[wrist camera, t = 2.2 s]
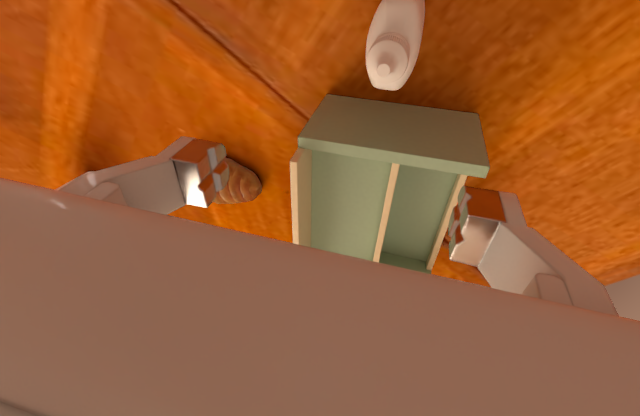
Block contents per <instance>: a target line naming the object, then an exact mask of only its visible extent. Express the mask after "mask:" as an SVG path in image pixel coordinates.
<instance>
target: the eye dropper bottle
mask: <svg viewBox="0 0 640 416" xmlns="http://www.w3.org/2000/svg"><path fill="white" fill-rule="evenodd" d="M424 18H425V0H382V1H381V3H380V5H379V7H378V9H377V10H376V13H375V15H374V17H373V20H372V23H371V26H370V29H369V33H368V37H367V43H366V66H367V67H366V68H367V72H368V76H369V79H370V81H371V84H372V85H373V86H374V87H375V88H378V89H383V90H393V91H394V90H399V89H400V88H401V87H402V86H403V85H404V84H405V83H406V81H407V80H408V78H409V76H410V74H411V73H412V71H413V68H414V66H415V63H416V61H417V57H418V54H419V50H420V44H421V38H422V32H423V26H424Z"/></svg>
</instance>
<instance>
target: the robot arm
mask: <svg viewBox="0 0 640 416" xmlns="http://www.w3.org/2000/svg"><path fill="white" fill-rule="evenodd" d="M226 155H227V154H226V149H225V146H224V145H223V144H222V143H217V142H212V141H207V140H202V139H196V138H192V137H180V138H179V139H178V140H176V141H175V142H174V143H172V144H171V145H170V146H168V147H167V148H166V149H164V150H163V151H162V152H160V153H159V154H158V155H157V156H155V157H154V156H149V157H146V158H142V159H138V160H135V161H131V162H127V163H124V164H120V165H116V166H113V167H109V168H106V169H102V170H98V171H95V172H91V173H87V174H84V175H81V176H79V177H78V178H76V179H75V180H73V181H72V182H70V183H69V184H67V185H66V186H64V187H63V188H61V189H60V190H58V191H57V190H53V189H48V188H44V187H39V186H35V185H31V184H26V183H22V182H17V181H13V180H8V179H4V178H0V416H640V321H637V320H633V319H628V318H624V317H619V315H618V313H617V311H616V309H615V307H614V305H613V303H612V301H611V299H610V297H609V295H608V293H607V290H606V288H605V286H604V285H603V284H601V283H600V282H599V281H598V280H596V279H595V278H594V277H593V276H592V275H590V274H589V273H588V272H587V271H585V270H584V269H583V268H582V267H580V266H579V265H578V264H577V263H575V262H574V261H573V260H572V259H570V258H569V257H568V256H567V255H565V254H564V253H563V252H562V251H560V250H559V249H558V248H557V247H555V246H554V245H553V244H552V243H551V242H549V241H548V240H547V239H546V238H544V237H543V236H542V235H541V234H539V233H538V232H537V231H536V230H534V229H533V228H529V227H527V224H526V221H525V218H524V215H523V212H522V209H521V206H520V203H519V200H518V197H517V195H516V194H515V193H509V192H502V191H494V190H488V189H481V188H474V187H468V186H462V188H461V189H460V192H459V194H458V205H456V206H455V207H453V210H452V213H451V216H450V220H449V226H448V235H449V236H450V238H451V241H450V243H449V258H450V260H452V261H456V262H460V263H464V264H468V265H472V266H477V267H478V269H479V270H480V272H481V273H482V275H483V276H484V277H485V279H486V280H487V281H488V283H489V284H490V286H491V287H492V288H490V287H486V286H481V285H477V284H473V283H468V282H464V281H459V280H455V279H450V278H446V277H441V276H437V275H432V274H428V273H423V272H419V271H414V270H410V269H406V268H401V267H397V266H392V265H388V264H383V263H379V262H374V261H370V260H365V259H361V258H356V257H352V256H347V255H343V254H339V253H334V252H330V251H325V250H321V249H316V248H312V247H307V246H303V245H298V244H294V243H289V242H285V241H280V240H276V239H272V238H267V237H263V236H258V235H254V234H249V233H245V232H240V231H236V230H231V229H227V228H223V227H218V226H214V225H209V224H205V223H200V222H196V221H191V220H187V219H182V218H178V217H173V216H169V215H167V214H169V213H171V212H173V211H175V210H177V209H179V208H181V207H183V206H184V205H185V204H188V205H193V206H199V207H204V208H207V207H208V206H209V205H210V204H211V203H212V202H213V200H214V199H215V198H216V192H218V191H221V190H223V189H224V187H225V186H226V185H227V182H228V179H229V166H228V164H227V163H226V162H225V161H224V158H225V157H226Z"/></svg>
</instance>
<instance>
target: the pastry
mask: <svg viewBox="0 0 640 416" xmlns="http://www.w3.org/2000/svg"><path fill="white" fill-rule="evenodd" d="M224 161H225V162H226V163H227V164H228V166H229V179H228V182H227V185H226V186H225V187H224V189H223V190H221V191H218V192H216V198H215V199H214V200H213V202H215V203H217V204H233V203H241V202H247V201H252V200H254V199H255V198H256V197H257V196H258V195H259V194H260V193H261V191H262V186H261V183H260V181H259V179H258V177H257V176H256V174H255V173H254V172H252V171H251V170H249V169H247V168H246V167H245V166H241V165H240V164H238V163H237V162H236V161H234V160H232V159H230V158H224Z"/></svg>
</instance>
